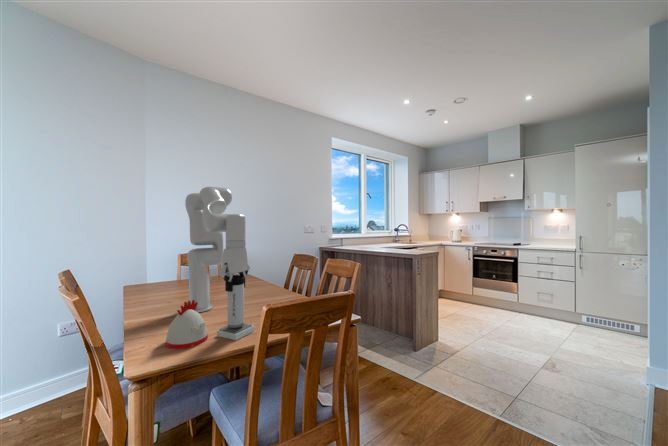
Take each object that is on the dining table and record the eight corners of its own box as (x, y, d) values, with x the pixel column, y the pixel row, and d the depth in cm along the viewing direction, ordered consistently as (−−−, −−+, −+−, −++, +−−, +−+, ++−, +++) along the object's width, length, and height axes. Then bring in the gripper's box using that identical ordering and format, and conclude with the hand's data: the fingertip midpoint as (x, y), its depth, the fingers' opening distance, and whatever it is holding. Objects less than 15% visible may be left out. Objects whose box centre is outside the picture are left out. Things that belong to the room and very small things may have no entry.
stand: (216, 336, 109) (216, 329, 109) (235, 327, 118) (235, 321, 118) (236, 340, 105) (236, 333, 105) (254, 331, 114) (253, 325, 114)
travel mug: (236, 321, 116) (236, 273, 116) (247, 324, 113) (247, 275, 113) (223, 326, 111) (223, 276, 111) (234, 329, 107) (234, 277, 108)
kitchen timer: (215, 337, 108) (215, 298, 109) (184, 351, 96) (184, 308, 96) (190, 331, 114) (190, 295, 114) (157, 345, 101) (157, 304, 101)
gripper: (243, 243, 121) (243, 284, 121) (211, 246, 106) (211, 293, 106) (257, 243, 118) (257, 285, 118) (226, 246, 103) (226, 295, 102)
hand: (235, 288), depth 112 cm, fingers closed on travel mug, 6 cm apart
